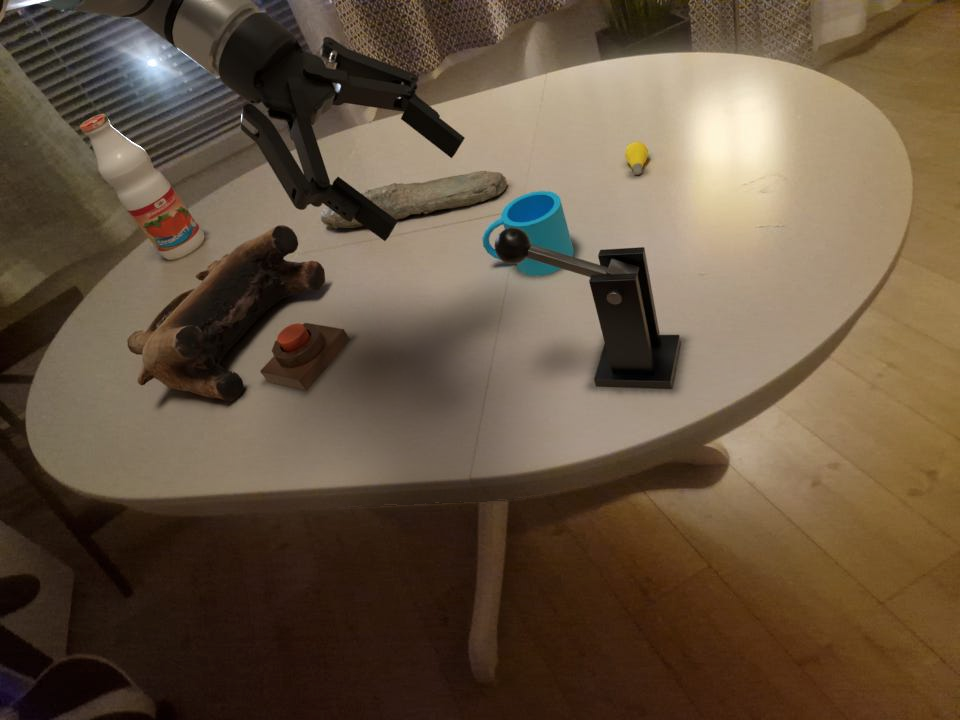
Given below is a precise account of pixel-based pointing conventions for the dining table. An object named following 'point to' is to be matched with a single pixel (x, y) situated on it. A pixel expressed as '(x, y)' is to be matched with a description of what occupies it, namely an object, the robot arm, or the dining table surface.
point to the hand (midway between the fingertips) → (427, 187)
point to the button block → (305, 358)
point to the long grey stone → (427, 196)
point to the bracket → (631, 327)
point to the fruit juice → (143, 190)
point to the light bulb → (636, 156)
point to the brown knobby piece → (221, 314)
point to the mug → (535, 228)
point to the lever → (551, 256)
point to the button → (293, 337)
